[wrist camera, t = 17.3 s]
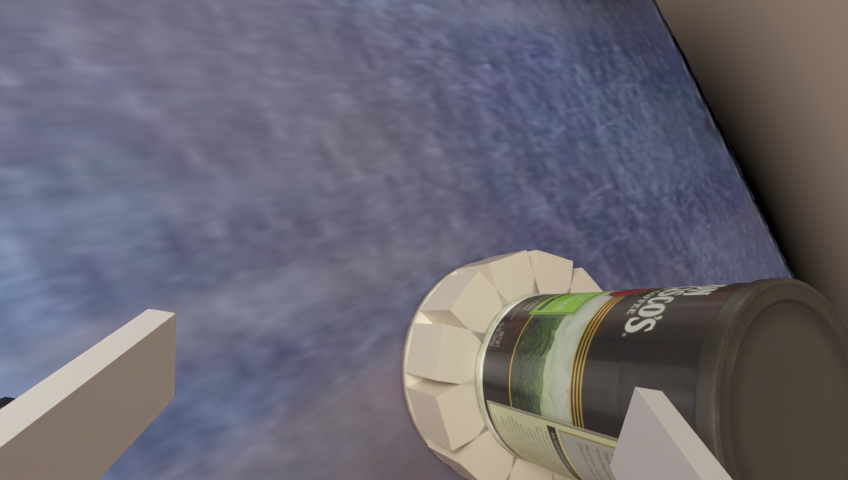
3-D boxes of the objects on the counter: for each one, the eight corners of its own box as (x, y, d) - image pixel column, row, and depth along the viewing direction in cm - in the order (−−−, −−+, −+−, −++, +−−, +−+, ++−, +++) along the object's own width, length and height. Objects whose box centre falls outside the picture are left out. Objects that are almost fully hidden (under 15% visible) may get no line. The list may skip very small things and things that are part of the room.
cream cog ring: (372, 296, 30) (404, 293, 26) (541, 238, 37) (589, 227, 33) (440, 520, 30) (484, 555, 26) (597, 419, 37) (652, 433, 33)
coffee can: (458, 310, 27) (688, 304, 15) (585, 281, 32) (841, 259, 19) (490, 491, 26) (763, 649, 14) (616, 434, 31) (902, 513, 19)
